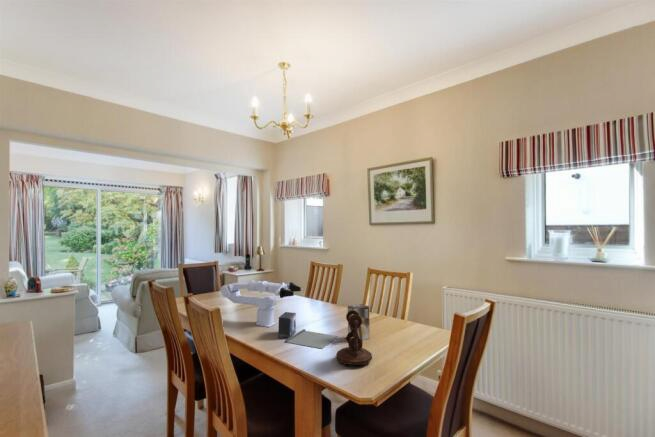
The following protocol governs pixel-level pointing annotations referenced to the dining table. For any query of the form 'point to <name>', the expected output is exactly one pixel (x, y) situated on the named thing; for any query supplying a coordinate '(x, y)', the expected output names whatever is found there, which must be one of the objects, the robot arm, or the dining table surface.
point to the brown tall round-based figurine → (354, 343)
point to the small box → (287, 325)
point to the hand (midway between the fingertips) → (296, 291)
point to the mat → (311, 339)
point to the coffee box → (364, 315)
